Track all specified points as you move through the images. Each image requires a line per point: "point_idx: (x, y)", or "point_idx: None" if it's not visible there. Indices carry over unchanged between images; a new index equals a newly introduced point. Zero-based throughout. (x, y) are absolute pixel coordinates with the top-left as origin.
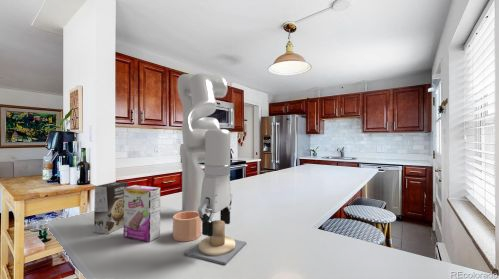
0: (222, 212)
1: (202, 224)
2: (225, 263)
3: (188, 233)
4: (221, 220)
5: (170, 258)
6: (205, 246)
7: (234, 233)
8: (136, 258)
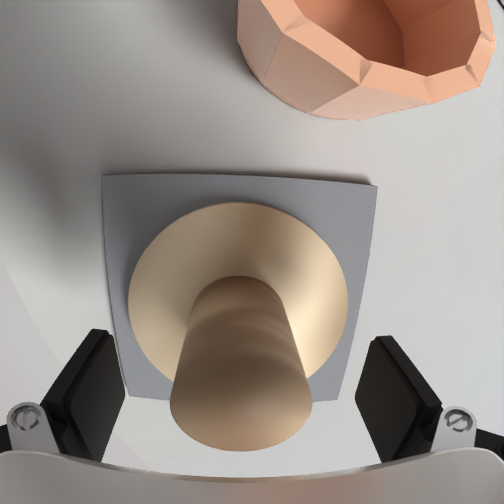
0: (402, 417)
1: (60, 376)
2: (130, 392)
3: (264, 69)
4: (377, 358)
5: (56, 135)
6: (170, 277)
7: (435, 295)
8: (28, 14)
